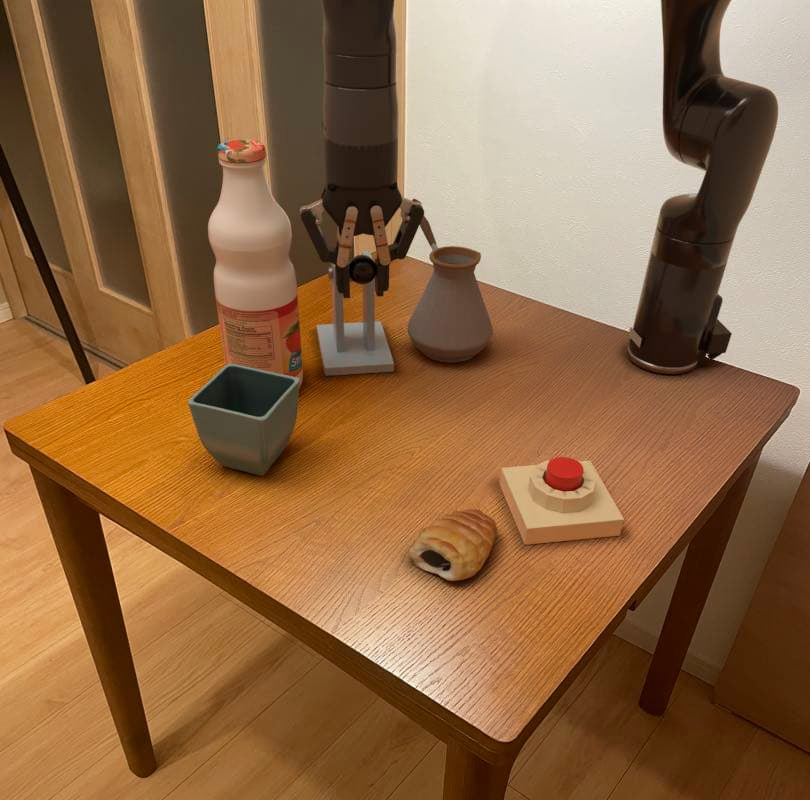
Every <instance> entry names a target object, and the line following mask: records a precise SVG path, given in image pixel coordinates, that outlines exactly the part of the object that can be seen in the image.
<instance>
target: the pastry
mask: <svg viewBox="0 0 810 800" xmlns="http://www.w3.org/2000/svg"><path fill="white" fill-rule="evenodd" d="M497 533H498V527H497V524H496V521H495V520H494V518H492V517H491V516H489V515H488V514H486V513H484V512H483V511H482V510H481V509H478V508H477V509H472V508H469V509H464V510H460V511H459V510H455V511H454V512H452V513H451V514H449V513H446V514H444V515H443V516H442V517H441V518H436V519H435V520H433V522H432V523H431V524H430V526H426V527H424V528H422V529H421V531H420V532H419V533H418V535H417V538H416V540H415V543H414V544H413V545H412V547H409V551H408V552H409V553H408V554H409V557H410V559H411V560H412V561H413V563H414V565H415V566H416V567H418V568H419V569H422V570H423V571H426V572H429V573H432V574H435V575H438V576H440V578H443V579H445V580H446V581H449V582H456V581H457V582H458V581H463V580H467V579H469V578H472V577H474V576H475V575H476V574H477V573H479V571H480V570H482V567H483V566H484V564H485V562H486V561H487V559H488V557H489V556H490V554H491V551H492V549H493V546H494V544H495V542H496V538H497Z"/></svg>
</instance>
